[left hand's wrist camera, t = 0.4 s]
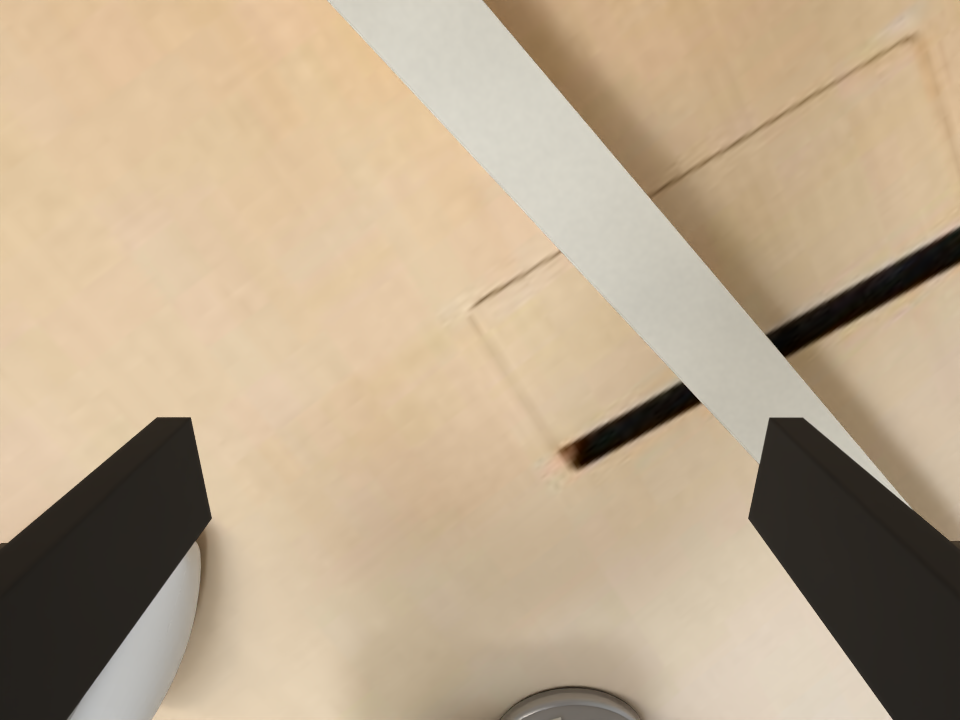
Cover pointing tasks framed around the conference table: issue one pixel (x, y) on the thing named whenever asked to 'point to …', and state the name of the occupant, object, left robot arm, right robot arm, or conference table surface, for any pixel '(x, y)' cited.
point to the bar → (592, 210)
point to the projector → (147, 652)
